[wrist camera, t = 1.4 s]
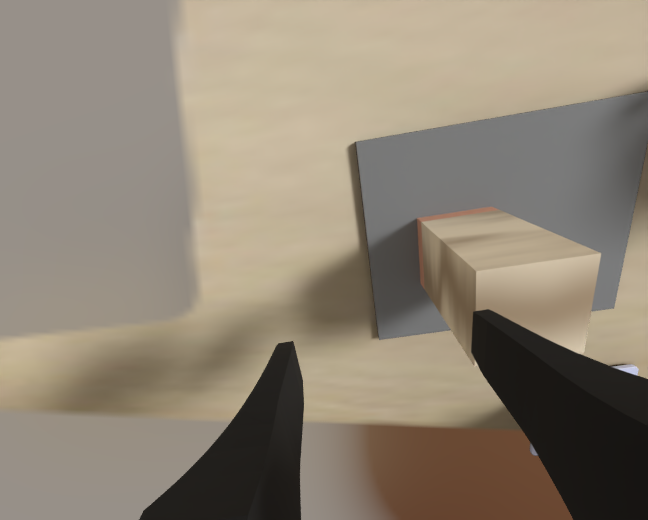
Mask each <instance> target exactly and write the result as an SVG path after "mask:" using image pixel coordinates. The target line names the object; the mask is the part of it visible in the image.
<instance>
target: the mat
mask: <svg viewBox="0 0 648 520" xmlns="http://www.w3.org/2000/svg"><path fill="white" fill-rule="evenodd" d="M355 143H356V151H357V160H358V168H359V177H360V185H361V194H362V202H363V211H364V219H365V228H366V236H367V244H368V253H369V261H370V270H371V278H372V287H373V295H374V304H375V312H376V321H377V329H378V337H379V340H382V339H389V338H397V337H404V336H412V335H419V334H426V333H434V332H441V331H449V330H451V329H450V328H449V326H448V325H447V323H446V322H445V320H444V319H443V317H442V316H441V314H440V313H439V311H438V309H437V308H436V306H435V305H434V303H433V302H432V300H431V299H430V297H429V296H428V294H427V293H426V291H425V289H424V288H423V286H422V285H421V282H420V264H419V246H418V227H417V218H422V217H428V216H434V215H441V214H447V213H454V212H460V211H466V210H473V209H479V208H486V207H494V208H496V209H499V210H501V211H503V212H506V213H508V214H510V215H513V216H515V217H517V218H520V219H522V220H524V221H527V222H529V223H531V224H534V225H536V226H539V227H541V228H543V229H546V230H548V231H550V232H553V233H555V234H557V235H560V236H562V237H564V238H567V239H569V240H571V241H574V242H576V243H579V244H581V245H583V246H586V247H588V248H590V249H593V250H595V251H597V252H600V253H601V258H600V264H599V270H598V275H597V281H596V287H595V292H594V298H593V304H592V310H591V311H598V310H605V309H613V308H614V306H615V301H616V296H617V291H618V286H619V281H620V276H621V272H622V267H623V262H624V257H625V252H626V247H627V242H628V237H629V232H630V227H631V223H632V218H633V213H634V208H635V203H636V198H637V193H638V188H639V183H640V178H641V174H642V169H643V164H644V159H645V154H646V149H647V144H648V91H647V92H641V93H635V94H630V95H624V96H618V97H612V98H607V99H601V100H595V101H589V102H583V103H578V104H572V105H566V106H560V107H555V108H549V109H543V110H537V111H531V112H526V113H520V114H514V115H508V116H503V117H497V118H491V119H485V120H479V121H474V122H468V123H462V124H456V125H451V126H445V127H439V128H433V129H427V130H422V131H416V132H410V133H404V134H399V135H393V136H387V137H381V138H375V139H370V140H364V141H358V142H355Z"/></svg>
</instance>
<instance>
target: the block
mask: <svg viewBox="0 0 648 520" xmlns="http://www.w3.org/2000/svg"><path fill="white" fill-rule="evenodd" d="M417 227H418V246H419V264H420V282H421V285H422V286H423V288H424V289H425V291H426V293H427V294H428V296H429V297H430V299H431V300H432V302H433V303H434V305H435V306H436V308H437V309H438V311H439V313H440V314H441V316H442V317H443V319H444V320H445V322H446V323H447V325H448V326H449V328H450V329H451V331H452V333H453V334H454V336H455V337H456V339H457V340H458V342H459V343H460V345H461V346H462V348H463V349H464V351H465V353H466V354H467V356H468V357H469V359H470V360H471V362H472V363H473V365H474V366H475V367H476V366H478V365H477V363H476V361H475V359H474V357H473V355H472V353H471V343H472V322H473V312H474V311H480V310H486V309H489V310H491V311H494V312H496V313H498V314H500V315H502V316H503V317H505V318H507V319H509V320H511V321H513V322H515V323H517V324H519V325H521V326H522V327H524V328H526V329H528V330H530V331H532V332H534V333H536V334H538V335H540V336H542V337H544V338H546V339H548V340H550V341H552V342H554V343H556V344H558V345H561V346H563V347H565V348H567V349H569V350H572V351H574V352H576V353H584V350H585V344H586V338H587V333H588V327H589V321H590V315H591V310H592V304H593V298H594V292H595V287H596V281H597V275H598V270H599V264H600V258H601V253H600V252H597V251H595V250H593V249H590V248H588V247H586V246H583V245H581V244H579V243H576V242H574V241H571V240H569V239H567V238H564V237H562V236H560V235H557V234H555V233H553V232H550V231H548V230H546V229H543V228H541V227H539V226H536V225H534V224H531V223H529V222H527V221H524V220H522V219H520V218H517V217H515V216H513V215H510V214H508V213H506V212H503V211H501V210H499V209H496V208H494V207H486V208H479V209H473V210H466V211H460V212H454V213H447V214H441V215H434V216H428V217H422V218H417Z"/></svg>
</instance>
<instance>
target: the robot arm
mask: <svg viewBox="0 0 648 520" xmlns="http://www.w3.org/2000/svg"><path fill="white" fill-rule="evenodd" d="M471 353H472V355H473V357H474V359H475V361H476V363H477V365H478V366H479V368H480V370H481V372H482V374H483V375H484V377H485V378H486V380H487V381H488V383H489V384H490V385H491V387H492V388H493V390H494V391H495V392H496V394H497V395H498V397H499V398H500V399H501V401H502V402H503V404H504V405H505V406H506V408H507V409H508V411H509V412H510V413H511V415H512V416H513V417H514V419H515V420H516V422H517V423H518V424H519V426H520V427H521V429H522V430H523V432H524V433H525V435H526V436H527V438H528V439H529V441H530V452H531V453H532V454H533V455H538V456H539V458H540V459H541V461H542V463H543V465H544V466H545V468H546V470H547V472H548V474H549V475H550V477H551V479H552V481H553V483H554V484H555V486H556V488H557V490H558V491H559V493H560V495H561V497H562V499H563V501H564V503H565V504H566V506H567V508H568V510H569V512H570V514H571V516H572V518H573V520H648V379H646V378H643V377H640V376H637V374H638V368H637V367H636V366H634V365H632V364H629V365H621V366H613V367H611V366H608V365H606V364H603V363H601V362H598V361H596V360H593V359H590V358H588V357H585V356H583V355H581V354H578V353H576V352H574V351H572V350H569V349H567V348H565V347H563V346H561V345H558V344H556V343H554V342H552V341H550V340H548V339H546V338H544V337H542V336H540V335H538V334H536V333H534V332H532V331H530V330H528V329H526V328H524V327H522V326H521V325H519V324H517V323H515V322H513V321H511V320H509V319H507V318H505V317H503V316H502V315H500V314H498V313H496V312H494V311H491V310H489V309H486V310H480V311H474V312H473V322H472V343H471ZM303 411H304V395H303V379H302V375H301V371H300V367H299V363H298V358H297V354H296V350H295V346H294V342H293V341H291V342H285V343H279V344H278V345H277V346H276V348H275V350H274V352H273V354H272V356H271V358H270V360H269V362H268V364H267V366H266V368H265V370H264V372H263V373H262V375H261V377H260V379H259V380H258V382H257V384H256V386H255V387H254V389H253V391H252V392H251V394H250V395H249V397H248V398H247V400H246V402H245V403H244V405H243V406H242V408H241V409H240V410H239V412H238V413H237V415H236V416H235V417H234V419H233V420H232V421H231V423H230V424H229V425H228V427H227V428H226V429H225V430H224V432H223V433H222V434H221V435H220V437H219V438H218V439H217V440H216V441H215V442H214V444H213V445H212V446H211V447H210V448H209V449H208V451H207V452H206V453H205V454H204V455H203V456H202V457H201V458H200V459H199V460H198V461H197V462H196V463H195V464H194V465H193V466H192V467H191V468H190V469H189V470H188V471H187V472H186V473H185V474H184V475H183V476H182V477H181V478H180V479H179V480H178V481H177V482H176V483H175V484H174V485H172V486H171V487H170V488H169V489H168V490H167V491H166V492H165V493H164V494H162V495H161V496H160V497H159V498H158V499H157V500H156V501H155V502H153V503H152V504H151V505H150V506H149V507H147V508H146V509H145V510H144V511H143V513H142V515H141V517H140V519H139V520H301V506H300V457H301V441H302V427H303Z"/></svg>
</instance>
